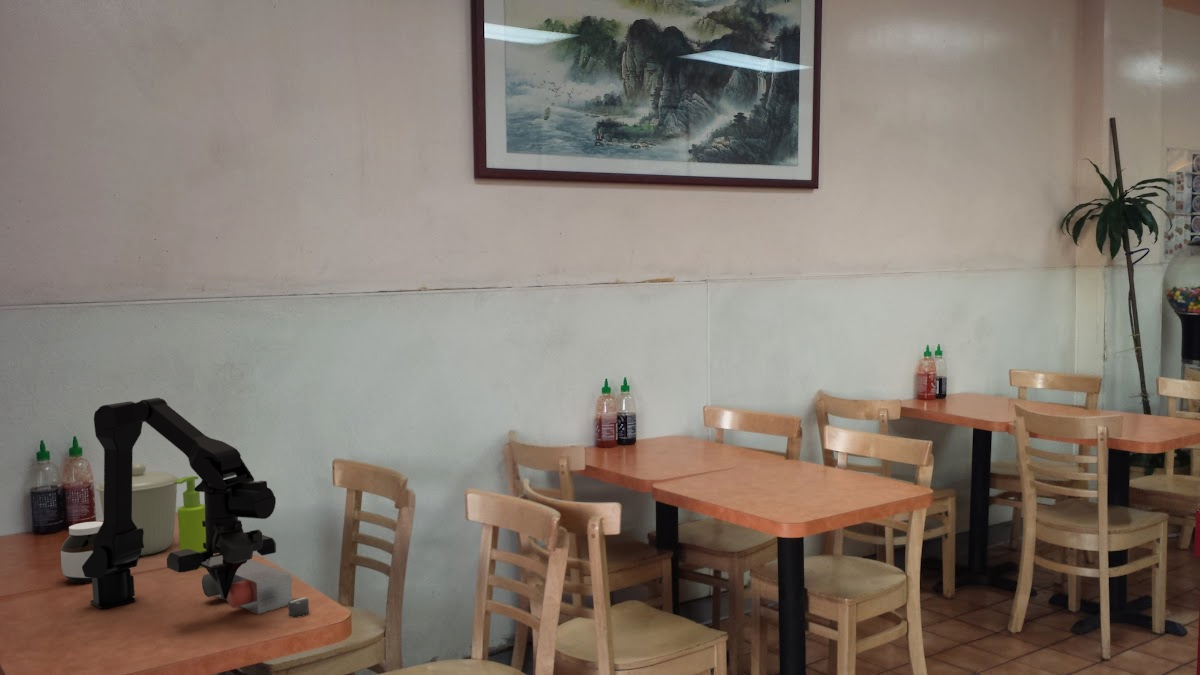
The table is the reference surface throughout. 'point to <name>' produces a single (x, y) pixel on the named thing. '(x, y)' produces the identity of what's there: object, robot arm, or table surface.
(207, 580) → the black knob
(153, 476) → the canister
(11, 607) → the table surface
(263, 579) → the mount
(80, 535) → the spread jar
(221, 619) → the table surface
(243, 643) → the table surface
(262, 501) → the robot arm
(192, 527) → the soap dispenser
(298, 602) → the dial
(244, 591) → the red knob
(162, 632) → the table surface
